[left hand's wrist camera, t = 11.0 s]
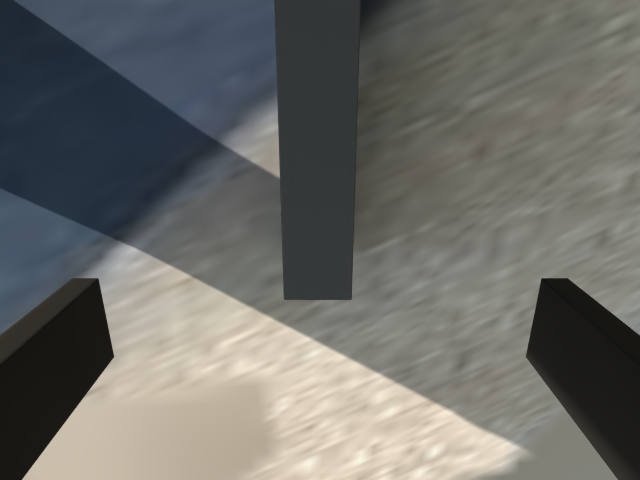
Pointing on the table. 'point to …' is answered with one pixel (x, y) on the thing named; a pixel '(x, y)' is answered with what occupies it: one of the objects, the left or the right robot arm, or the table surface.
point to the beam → (317, 143)
